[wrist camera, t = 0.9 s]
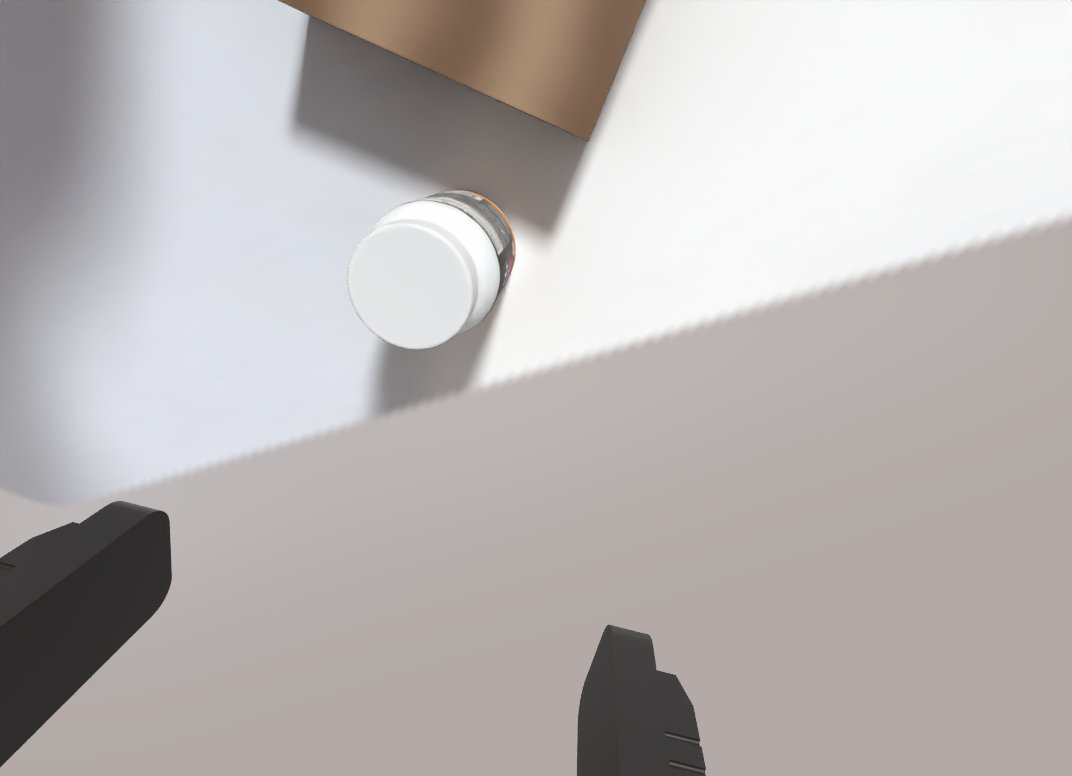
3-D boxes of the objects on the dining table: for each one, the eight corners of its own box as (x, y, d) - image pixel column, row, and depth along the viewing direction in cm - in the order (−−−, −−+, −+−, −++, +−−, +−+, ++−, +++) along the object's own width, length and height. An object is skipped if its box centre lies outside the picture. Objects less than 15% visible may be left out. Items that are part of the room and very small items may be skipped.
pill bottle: (474, 318, 30) (428, 392, 21) (391, 250, 28) (302, 298, 20) (539, 239, 28) (519, 284, 19) (452, 162, 26) (385, 171, 17)
